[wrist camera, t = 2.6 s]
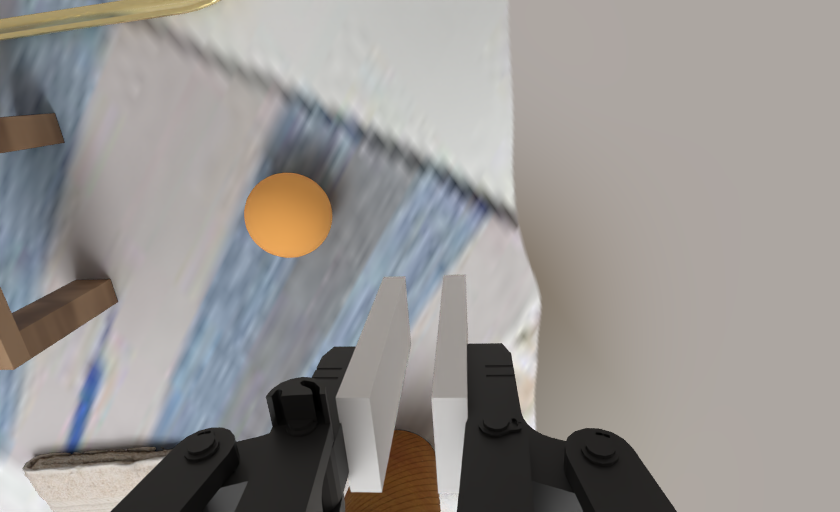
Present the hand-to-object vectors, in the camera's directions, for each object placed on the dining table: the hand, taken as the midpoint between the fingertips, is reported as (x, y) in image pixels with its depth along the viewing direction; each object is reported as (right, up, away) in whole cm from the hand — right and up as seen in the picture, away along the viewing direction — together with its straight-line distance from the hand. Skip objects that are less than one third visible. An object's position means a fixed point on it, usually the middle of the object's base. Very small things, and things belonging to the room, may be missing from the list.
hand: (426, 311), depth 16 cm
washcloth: (-27, -21, +29) cm, 45 cm away
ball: (-9, +5, +14) cm, 17 cm away
